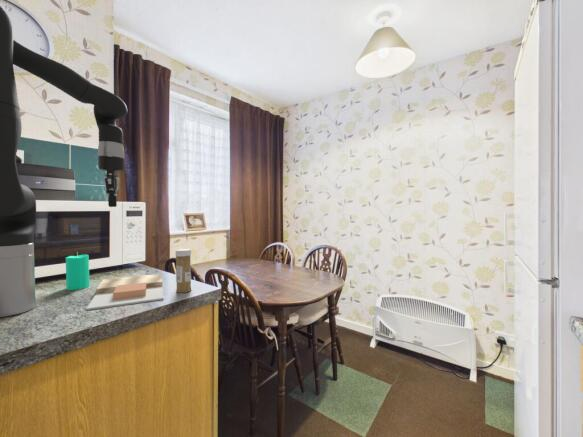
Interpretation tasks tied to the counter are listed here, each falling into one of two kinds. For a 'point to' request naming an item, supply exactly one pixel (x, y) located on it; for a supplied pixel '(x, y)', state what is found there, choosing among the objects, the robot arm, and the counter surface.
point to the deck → (129, 282)
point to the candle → (77, 272)
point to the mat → (107, 299)
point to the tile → (129, 291)
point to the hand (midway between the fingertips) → (112, 206)
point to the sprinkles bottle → (183, 270)
